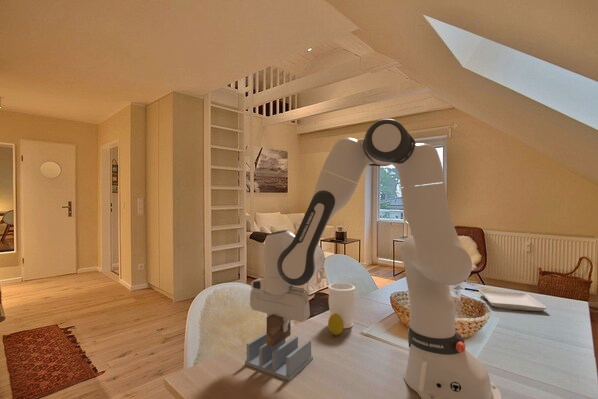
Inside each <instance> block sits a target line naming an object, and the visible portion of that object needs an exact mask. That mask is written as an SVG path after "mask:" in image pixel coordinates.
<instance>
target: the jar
mask: <svg viewBox="0 0 598 399" xmlns="http://www.w3.org/2000/svg"><path fill="white" fill-rule="evenodd" d="M328 290H329V294H328V308H329V315H330V316H331V315H333V314H335V313H337V314H338V315H340V316H341V317H342V320H343V325H344V326H343V330H344V329H345V330H346V329H351V328H352V327H353V326H354V322H353V320H354V318H355V317H354V316H355V310H356V304H357V303H356V293H355V291H356V286H355V285H354V284H350V283H343V282H342V283H341V282H338V283H337V282H336V283H331V284H329V285H328Z"/></svg>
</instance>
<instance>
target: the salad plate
mask: <svg viewBox="0 0 598 399" xmlns="http://www.w3.org/2000/svg"><path fill="white" fill-rule="evenodd" d="M478 293H479V294H481V295H482V297H484V299H486V300H487V301H488V302H489V304H490V305H491V306H493V307H496V308H498V309H504V310H505V309H507V310H515V311H516V310H517V311H525V312H526V311H527V312H528V311H529V312H541V311H544V310H546V309H547V306H546V305H544V304H543V303H541V302H540V301H538V300H537V299H536V298H534V297H532V296H531V295H530V294H528V293H524V292H516V291H515V292H513V291H503V290H502V291H501V290H491V289H490V290H487V289H478Z"/></svg>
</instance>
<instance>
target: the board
mask: <svg viewBox="0 0 598 399" xmlns="http://www.w3.org/2000/svg"><path fill="white" fill-rule="evenodd" d="M284 322H285V321H283V317H280V316H277V315H273V314H272V315H270V316H268V317H266V332H267V345H269V346H272V347H274V346H275V345H277V344H278V343H280V342H281V341H283V340H284V339H285V340H286V339H287V338H288V337H290V336H291V334H292V333H291V325H292V324H291V321H290V322H289V324H288V330H287V331H286V332H283V331H281V325H283V324H284Z"/></svg>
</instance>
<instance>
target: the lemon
mask: <svg viewBox="0 0 598 399" xmlns="http://www.w3.org/2000/svg"><path fill="white" fill-rule="evenodd" d="M327 326H328V330H329V332H330V333H331V334H332V335H334V336H338V335H340V334H341V333H342V331H343V330H344V329H343V326H344V325H343V320H342V317H341V316H340V315H338V314H337V313H335V314H333V315H330V316H329V318H328V321H327Z"/></svg>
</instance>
